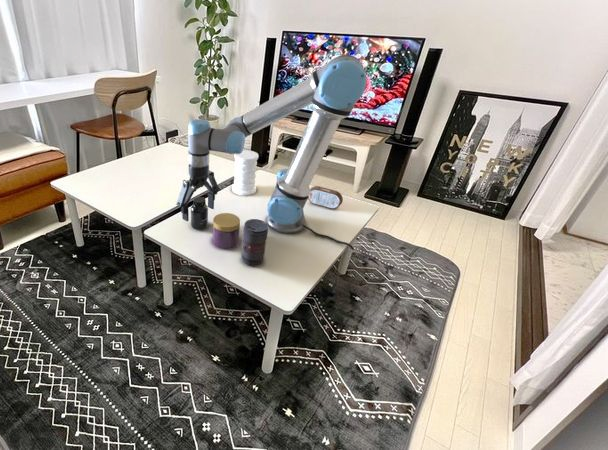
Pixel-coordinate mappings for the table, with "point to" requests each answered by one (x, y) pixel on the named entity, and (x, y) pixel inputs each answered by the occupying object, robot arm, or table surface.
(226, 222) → the jar lid
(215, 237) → the jar
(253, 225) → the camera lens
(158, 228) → the table surface
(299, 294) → the table surface
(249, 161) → the decorative container
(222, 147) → the robot arm
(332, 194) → the tin
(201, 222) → the supplement bottle
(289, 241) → the table surface
